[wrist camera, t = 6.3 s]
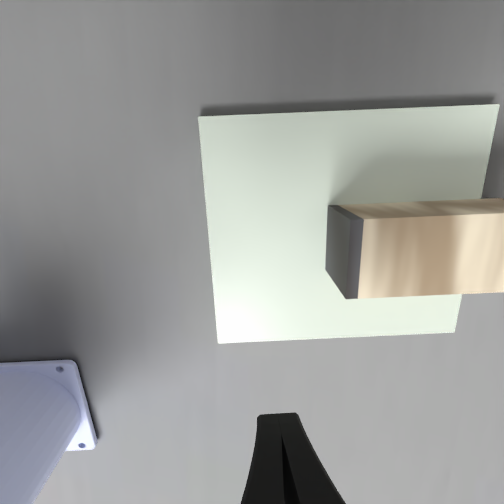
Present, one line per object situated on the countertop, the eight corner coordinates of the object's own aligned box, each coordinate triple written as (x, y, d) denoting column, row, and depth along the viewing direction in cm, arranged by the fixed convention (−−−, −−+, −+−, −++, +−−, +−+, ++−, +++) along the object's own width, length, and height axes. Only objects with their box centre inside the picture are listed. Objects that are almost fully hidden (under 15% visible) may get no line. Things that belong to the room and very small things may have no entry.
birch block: (345, 299, 15) (545, 290, 15) (350, 219, 14) (569, 210, 14) (325, 269, 19) (484, 262, 19) (327, 205, 17) (498, 197, 17)
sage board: (218, 338, 21) (218, 343, 20) (199, 117, 16) (198, 116, 16) (448, 327, 21) (454, 332, 20) (490, 105, 16) (499, 103, 16)
